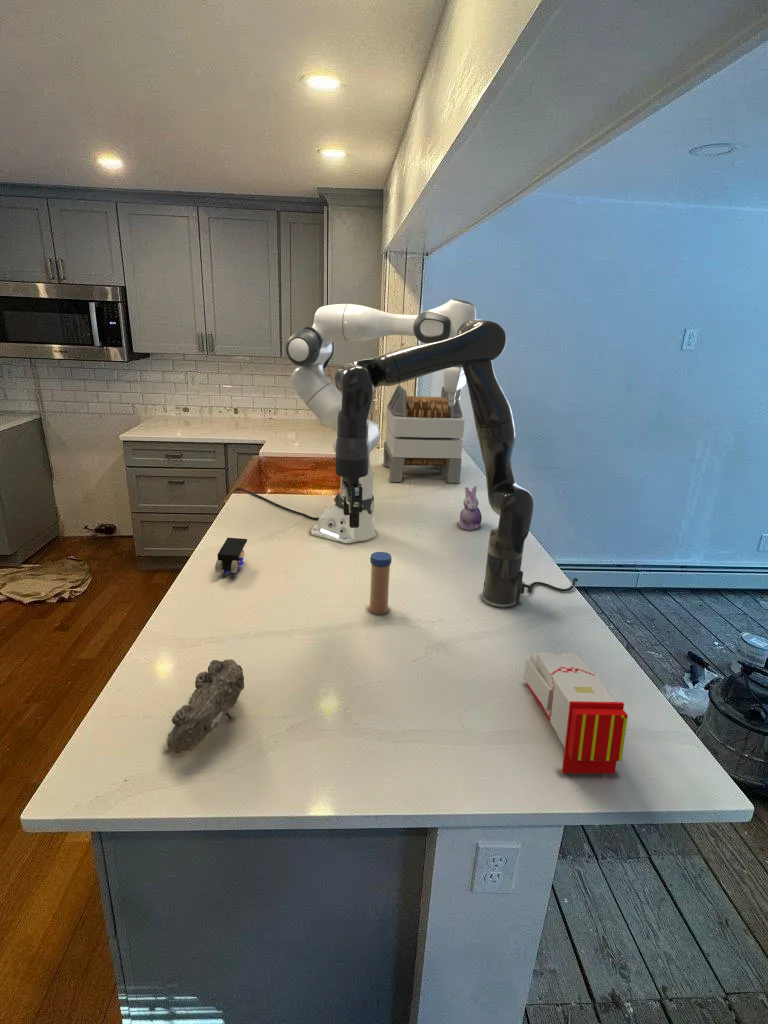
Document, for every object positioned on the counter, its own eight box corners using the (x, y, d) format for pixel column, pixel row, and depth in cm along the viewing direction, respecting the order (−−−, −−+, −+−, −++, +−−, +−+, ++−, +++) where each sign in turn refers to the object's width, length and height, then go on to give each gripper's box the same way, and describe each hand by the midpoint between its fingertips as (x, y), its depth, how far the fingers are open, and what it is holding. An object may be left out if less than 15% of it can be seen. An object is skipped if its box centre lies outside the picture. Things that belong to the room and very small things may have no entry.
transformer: (382, 463, 289) (386, 382, 275) (445, 464, 293) (451, 384, 279) (390, 482, 257) (394, 392, 243) (460, 483, 261) (468, 394, 247)
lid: (395, 564, 144) (395, 558, 143) (376, 568, 141) (376, 561, 141) (385, 556, 148) (385, 550, 147) (366, 560, 146) (367, 553, 145)
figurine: (467, 532, 204) (471, 492, 198) (451, 522, 212) (455, 484, 207) (488, 528, 208) (493, 489, 203) (472, 519, 216) (476, 482, 211)
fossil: (192, 660, 117) (244, 628, 112) (224, 691, 120) (276, 661, 115) (142, 746, 98) (202, 712, 93) (182, 779, 101) (242, 748, 96)
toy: (573, 635, 123) (638, 710, 94) (567, 691, 126) (628, 782, 97) (518, 633, 123) (565, 709, 93) (513, 690, 125) (557, 781, 96)
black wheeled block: (238, 584, 162) (249, 557, 175) (236, 562, 158) (247, 536, 172) (215, 584, 161) (227, 556, 175) (212, 561, 158) (225, 535, 171)
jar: (390, 612, 148) (393, 559, 143) (374, 615, 146) (376, 562, 141) (382, 603, 152) (385, 552, 147) (366, 607, 150) (368, 555, 145)
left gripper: (453, 354, 180) (449, 398, 185) (441, 358, 161) (437, 407, 166) (473, 355, 178) (468, 399, 183) (463, 360, 160) (459, 409, 164)
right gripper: (374, 462, 124) (372, 531, 129) (362, 446, 137) (360, 510, 142) (340, 462, 122) (339, 532, 127) (331, 447, 135) (331, 511, 140)
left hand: (454, 403), depth 174 cm, fingers open, 8 cm apart
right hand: (350, 520), depth 135 cm, fingers open, 8 cm apart
